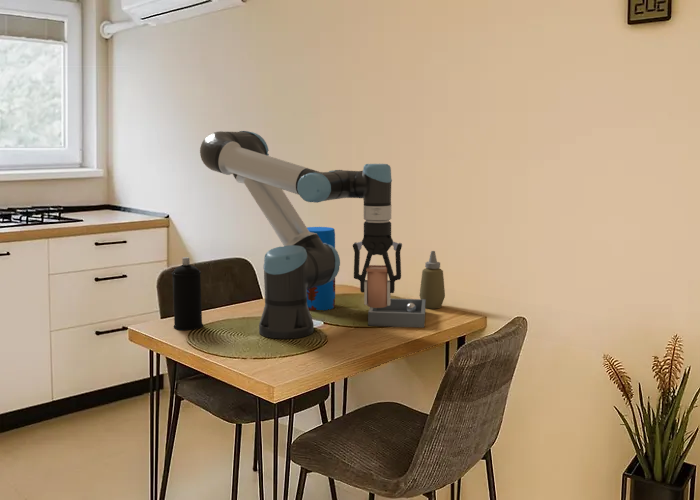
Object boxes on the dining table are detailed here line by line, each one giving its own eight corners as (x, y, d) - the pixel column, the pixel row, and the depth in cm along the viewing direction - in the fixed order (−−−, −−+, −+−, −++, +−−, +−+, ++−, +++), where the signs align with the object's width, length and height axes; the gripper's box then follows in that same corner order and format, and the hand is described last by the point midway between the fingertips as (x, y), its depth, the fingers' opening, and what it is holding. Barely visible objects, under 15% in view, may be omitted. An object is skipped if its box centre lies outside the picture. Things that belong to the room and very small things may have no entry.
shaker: (366, 307, 197) (366, 268, 195) (368, 302, 203) (368, 265, 201) (386, 308, 196) (386, 269, 195) (388, 303, 202) (388, 265, 200)
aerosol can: (196, 331, 202) (193, 260, 198) (168, 329, 203) (165, 259, 200) (207, 323, 210) (205, 255, 206) (181, 322, 211) (178, 254, 208)
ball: (410, 300, 218) (416, 301, 220) (403, 304, 220) (410, 305, 222) (412, 309, 217) (419, 310, 219) (405, 313, 219) (412, 314, 221)
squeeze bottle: (415, 308, 228) (416, 252, 225) (424, 302, 235) (425, 248, 232) (439, 311, 224) (440, 254, 221) (448, 305, 231) (449, 250, 228)
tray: (368, 325, 207) (368, 312, 207) (373, 310, 225) (373, 298, 224) (424, 327, 205) (424, 313, 205) (425, 312, 223) (425, 299, 222)
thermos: (296, 309, 226) (295, 230, 222) (308, 301, 237) (307, 226, 232) (329, 311, 223) (328, 231, 219) (339, 304, 233) (339, 227, 229)
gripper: (341, 222, 193) (342, 306, 197) (411, 222, 191) (410, 308, 195) (345, 219, 201) (345, 300, 204) (412, 219, 198) (411, 301, 202)
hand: (377, 304), depth 200 cm, fingers closed on shaker, 6 cm apart
